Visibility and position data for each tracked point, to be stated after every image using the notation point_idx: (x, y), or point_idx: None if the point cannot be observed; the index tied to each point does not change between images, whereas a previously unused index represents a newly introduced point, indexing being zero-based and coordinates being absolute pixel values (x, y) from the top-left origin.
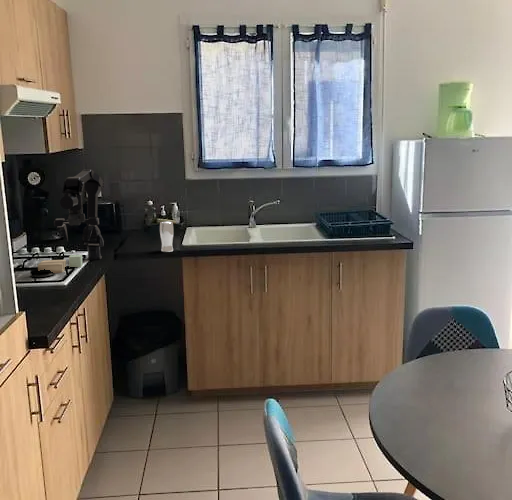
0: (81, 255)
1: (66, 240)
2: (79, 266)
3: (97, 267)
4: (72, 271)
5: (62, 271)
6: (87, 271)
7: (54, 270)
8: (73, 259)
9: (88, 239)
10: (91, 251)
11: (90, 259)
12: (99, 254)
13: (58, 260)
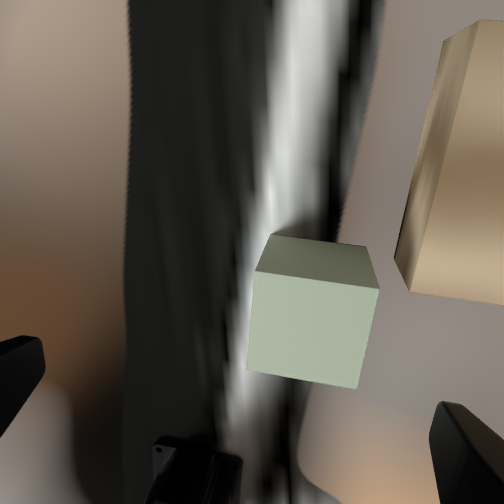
0: (249, 338)
1: (473, 415)
2: (281, 239)
3: (139, 195)
4: (343, 72)
5: (447, 42)
6: (203, 37)
7: None
8: (329, 270)
9: (13, 342)
10: (188, 501)
11: (217, 453)
12: (151, 488)
13: (492, 278)
